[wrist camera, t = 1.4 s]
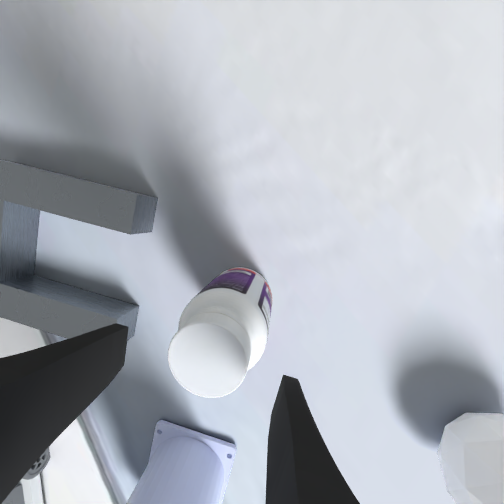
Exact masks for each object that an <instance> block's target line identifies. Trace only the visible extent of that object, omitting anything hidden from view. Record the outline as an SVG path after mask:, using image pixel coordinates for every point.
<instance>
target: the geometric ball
mask: <svg viewBox="0 0 504 504" xmlns="http://www.w3.org/2000/svg"><path fill="white" fill-rule="evenodd" d="M437 455H438V459H439V462H440V466H441V470H442V473H443V477H444V481H445V485H446V488H447V492H448V493H449V494H450V496H451V497H452V499H453V500H454V501H455V503H456V504H504V414H501V413H464V414H463V415H461V416H460V417H458V418H456V419H455V420H453V421H452V422H450V423H449V424H447V425H446V426H445V429H444V432H443V435H442V438H441V441H440V445H439V448H438V451H437Z"/></svg>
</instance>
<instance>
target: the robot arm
mask: <svg viewBox="0 0 504 504" xmlns="http://www.w3.org/2000/svg"><path fill="white" fill-rule="evenodd" d="M128 328H129V327H127V326H124V325H121V324H118V323H115V324H112V325H108V326H105V327H102V328H99V329H96V330H93V331H90V332H87V333H85V334H82V335H79V336H76V337H73V338H70V339H67V340H64V341H61V342H57V343H54V344H51V345H48V346H44V347H41V348H38V349H34V350H31V351H27V352H24V353H20V354H16V355H12V356H8V357H4V358H0V504H2V502H3V501H4V500H5V499H6V498H7V496H8V495H9V494H10V493H11V491H12V490H13V489H14V488H15V486H16V485H17V484H18V483H19V482H20V480H21V479H22V478H23V477H24V475H25V474H26V473H27V472H28V471H29V469H30V468H31V467H32V466H33V465H34V464H35V462H36V461H37V460H38V459H39V458H40V456H41V455H42V454H43V453H44V452H45V451H46V449H47V448H48V447H49V446H50V445H51V444H52V443H53V441H54V440H55V439H56V438H57V437H58V436H59V435H60V434H61V433H62V432H63V431H64V430H65V429H66V428H67V427H68V426H69V425H70V424H71V423H72V422H73V421H74V420H75V419H76V418H77V417H78V416H79V415H80V414H81V413H82V412H83V411H84V410H85V409H86V408H87V407H88V406H89V405H90V404H91V403H92V402H93V401H94V399H95V398H96V397H97V396H98V395H99V394H100V393H101V392H102V391H103V390H104V389H105V388H106V387H107V386H108V385H109V384H110V382H111V381H112V380H113V379H114V377H115V376H116V375H117V374H118V372H119V371H120V370H121V368H122V367H123V366H124V361H125V353H126V345H127V336H128ZM160 430H161V431H160ZM236 450H237V448H236V446H235V445H234V444H232V443H229V442H226V441H223V440H220V439H217V438H214V437H211V436H208V435H205V434H202V433H199V432H196V431H193V430H190V429H188V428H185V427H182V426H179V425H176V424H173V423H170V422H167V421H164V420H159V421H158V422H157V424H156V427H155V432H154V437H153V442H152V447H151V452H150V457H149V461H148V465H147V467H146V469H145V471H144V473H143V474H142V476H141V478H140V480H139V482H138V483H137V485H136V487H135V489H134V491H133V492H132V494H131V496H130V498H129V500H128V501H127V503H126V504H222V502H223V498H224V495H225V491H226V487H227V484H228V480H229V476H230V473H231V469H232V465H233V462H234V458H235V454H236ZM230 454H231V455H230ZM266 504H360V503H359V502H358V500H357V499H356V497H355V496H354V494H353V493H352V491H351V489H350V488H349V486H348V484H347V483H346V481H345V479H344V478H343V476H342V474H341V473H340V471H339V469H338V467H337V466H336V464H335V462H334V460H333V458H332V456H331V454H330V453H329V451H328V449H327V447H326V445H325V443H324V441H323V439H322V437H321V434H320V432H319V430H318V428H317V426H316V423H315V421H314V419H313V417H312V414H311V412H310V410H309V407H308V405H307V402H306V400H305V397H304V394H303V392H302V389H301V386H300V383H299V381H298V379H296V378H293V377H289V376H286V375H283V377H282V381H281V384H280V387H279V391H278V394H277V397H276V400H275V404H274V407H273V410H272V414H271V421H270V428H269V436H268V453H267V481H266Z"/></svg>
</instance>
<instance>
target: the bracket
mask: <svg viewBox="0 0 504 504" xmlns="http://www.w3.org/2000/svg"><path fill="white" fill-rule="evenodd" d="M156 204H157V198H156V197H152V196H148V195H144V194H140V193H136V192H132V191H128V190H124V189H120V188H116V187H112V186H108V185H104V184H100V183H96V182H92V181H88V180H84V179H80V178H76V177H72V176H68V175H64V174H60V173H56V172H52V171H48V170H44V169H40V168H36V167H32V166H28V165H24V164H20V163H16V162H11V161H6V160H1V159H0V317H2V318H5V319H8V320H11V321H14V322H18V323H21V324H24V325H27V326H30V327H33V328H36V329H40V330H43V331H46V332H49V333H52V334H55V335H58V336H62V337H65V338H68V339H70V338H73V337H76V336H79V335H82V334H85V333H87V332H90V331H93V330H96V329H99V328H102V327H105V326H108V325H112V324H115V323H118V324H121V325H124V326H127V327H129V328H128V336H127V340H129V339H130V338H131V337H133V336H134V332H135V326H136V320H137V314H138V308H139V306H137V305H134V304H130V303H127V302H124V301H120V300H117V299H114V298H110V297H107V296H103V295H100V294H97V293H93V292H90V291H87V290H83V289H80V288H76V287H73V286H70V285H66V284H63V283H60V282H56V281H53V280H49V279H46V278H43V277H39V276H36V275H34V266H35V255H36V244H37V234H38V223H39V212H40V210H41V211H45V212H49V213H52V214H56V215H60V216H64V217H67V218H71V219H75V220H79V221H82V222H86V223H90V224H94V225H97V226H101V227H105V228H109V229H112V230H116V231H120V232H123V233H127V234H139V233H148V232H152V227H153V222H154V216H155V210H156Z"/></svg>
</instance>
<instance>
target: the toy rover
mask: <svg viewBox="0 0 504 504" xmlns="http://www.w3.org/2000/svg"><path fill="white" fill-rule="evenodd" d="M49 459H50V452H49V447H48V448H47V449H46V451H45V452H44V453H43V454H42V455H41V456H40V458H39V459H38V460H37V461H36V462H35V464H34V465H33V466H32V467H31V468H30V469H29V471H28V472H27V473H26V474H25V475H24V477H23V478H22V479H21V480H20V482H19V483H18V484H17V485H16V486H15V488H14V489H13V490H12V491H11V493H10V494H9V495H8V496H7V498H6V499H5V500H4V501H3V502H2V504H43V496H42V488H41V480H40V473H41V471H42V470H43V469H44V468H45V466H46V465H47V463H48V461H49Z"/></svg>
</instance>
